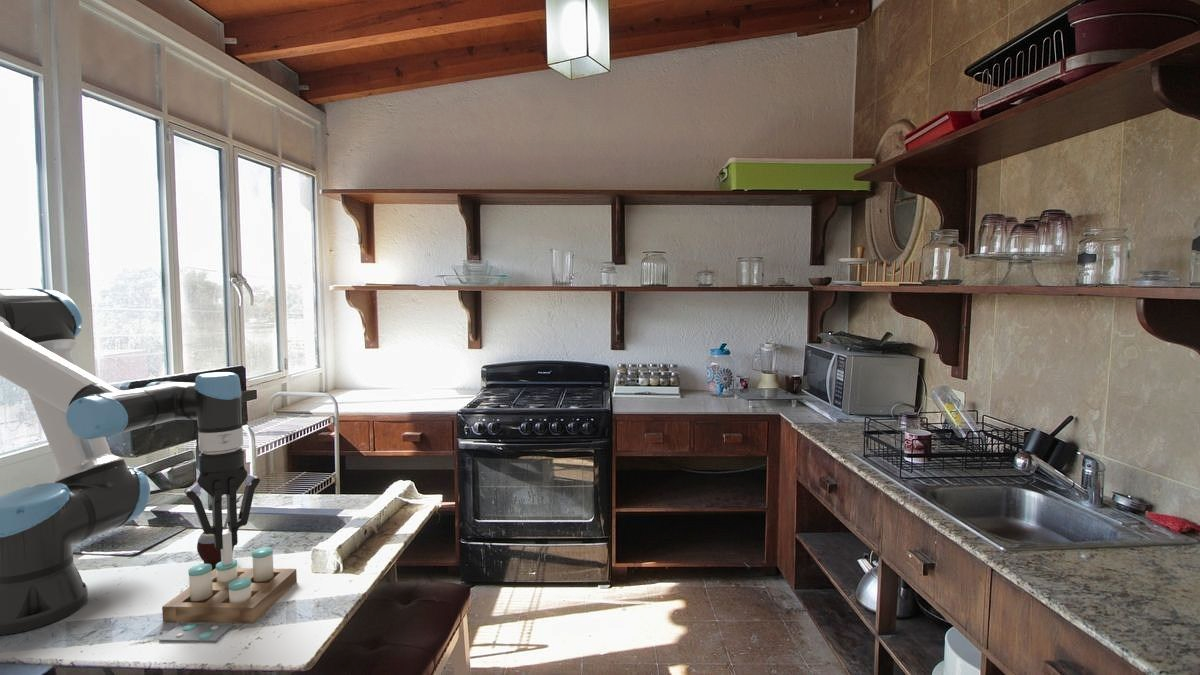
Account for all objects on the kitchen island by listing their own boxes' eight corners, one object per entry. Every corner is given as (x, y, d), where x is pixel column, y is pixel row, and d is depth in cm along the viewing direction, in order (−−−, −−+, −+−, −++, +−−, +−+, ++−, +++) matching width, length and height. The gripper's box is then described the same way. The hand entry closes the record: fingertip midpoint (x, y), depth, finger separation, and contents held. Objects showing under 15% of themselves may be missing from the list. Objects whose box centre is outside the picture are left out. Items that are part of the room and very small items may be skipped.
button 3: (225, 615, 109) (223, 587, 108) (237, 605, 112) (236, 577, 112) (244, 616, 109) (243, 587, 108) (256, 605, 112) (255, 577, 112)
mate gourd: (190, 573, 125) (187, 506, 124) (213, 556, 133) (210, 493, 132) (225, 573, 126) (222, 506, 124) (246, 556, 133) (244, 493, 132)
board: (162, 622, 107) (162, 606, 107) (217, 581, 122) (216, 567, 122) (253, 623, 107) (253, 607, 107) (296, 582, 122) (296, 568, 121)
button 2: (212, 594, 116) (211, 567, 116) (224, 584, 120) (223, 559, 119) (230, 594, 116) (229, 567, 116) (242, 585, 120) (241, 559, 119)
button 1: (185, 601, 109) (183, 572, 108) (198, 591, 112) (197, 563, 112) (204, 601, 108) (203, 573, 108) (217, 591, 112) (216, 563, 112)
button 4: (249, 581, 116) (247, 555, 115) (259, 572, 120) (258, 546, 119) (267, 582, 116) (266, 555, 115) (277, 573, 120) (276, 547, 119)
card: (159, 641, 101) (159, 638, 101) (180, 625, 106) (180, 622, 106) (215, 642, 101) (215, 639, 101) (234, 626, 106) (234, 623, 106)
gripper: (185, 459, 108) (192, 580, 110) (263, 447, 118) (267, 558, 119) (178, 451, 114) (184, 566, 116) (253, 440, 123) (257, 546, 125)
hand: (227, 562), depth 118 cm, fingers closed
